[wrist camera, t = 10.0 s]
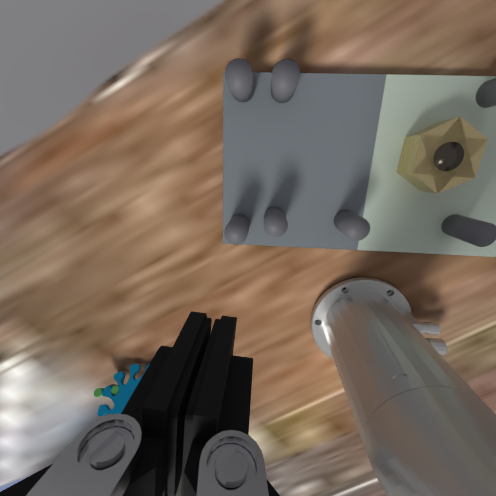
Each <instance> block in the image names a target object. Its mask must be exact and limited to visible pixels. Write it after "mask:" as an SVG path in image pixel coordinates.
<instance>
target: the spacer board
mask: <svg viewBox="0 0 496 496" xmlns="http://www.w3.org/2000/svg"><path fill="white" fill-rule="evenodd" d="M458 116H461V117H462V118H463V119H464V120H466V121H467V122H468V123H469V124H470V125H472V126H473V127H474V128H475V129H476V130H478V131H479V132H480V133H481V134H482V135H484V136H485V137H486V138H487V139H488V140H487V143H486V146H485V150H484V153H483V156H482V159H481V162H480V165H479V168H478V171H477V174H476V177H475V178H474V179H472V180H470V181H467V182H465V183H462V184H460V185H458V186H455V187H453V188H451V189H448V190H446V191H444V192H441V193H439V194H435V193H429V192H423V191H420V190H419V189H417V188H416V187H415V186H413V185H412V184H411V183H410V182H408V181H407V180H406V179H404V178H403V177H402V176H400V175H399V174H398V173H397V168H398V164H399V160H400V155H401V151H402V147H403V143H404V138H405V137H407V136H409V135H411V134H413V133H416V132H418V131H420V130H422V129H424V128H426V127H428V126H430V125H433V124H435V123H437V122H439V121H442V120H446V119H450V118H454V117H458ZM223 243H225V244H234V245H238V244H246V245H266V246H286V247H306V248H326V249H347V250H367V251H387V252H407V253H427V254H447V255H468V256H488V257H496V76H447V75H387V74H327V73H300V70H299V67H298V65H297V64H296V63H295V62H294V61H293V60H290V59H283V60H281V61H279V62H278V63H277V64H276V65H275V66H274V68H273V70H272V73H268V72H253V71H252V68H251V66H250V64H249V63H248V62H247V61H246V60H244V59H241V58H237V59H234V60H232V61H230V62H229V64H228V65H227V67H226V70H225V72H224V89H223Z"/></svg>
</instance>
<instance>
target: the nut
mask: <svg viewBox="0 0 496 496" xmlns="http://www.w3.org/2000/svg"><path fill="white" fill-rule="evenodd" d="M487 140H488V139H487V138H486V137H485V136H484V135H482V134H481V133H480V132H479V131H478V130H476V129H475V128H474V127H473V126H472V125H470V124H469V123H468V122H467V121H466V120H464V119H463V118H462V117H461V116H458V117H454V118H450V119H446V120H442V121H439V122H437V123H435V124H433V125H430V126H428V127H426V128H424V129H422V130H420V131H418V132H416V133H413V134H411V135H409V136H407V137H405V138H404V143H403V147H402V151H401V155H400V160H399V164H398V168H397V173H398V174H399V175H400V176H402V177H403V178H404V179H406V180H407V181H408V182H410V183H411V184H412V185H413V186H415V187H416V188H417V189H419V190H420V191H423V192H429V193H435V194H439V193H441V192H444V191H446V190H448V189H451V188H453V187H455V186H458V185H460V184H462V183H465V182H467V181H470V180H472V179H474V178H475V177H476V174H477V171H478V168H479V165H480V162H481V159H482V156H483V153H484V150H485V146H486V143H487Z"/></svg>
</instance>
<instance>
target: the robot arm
mask: <svg viewBox="0 0 496 496" xmlns="http://www.w3.org/2000/svg"><path fill="white" fill-rule="evenodd" d="M344 287H345V288H344ZM342 288H344V289H342ZM236 321H237V318H236V317H229V316H222V317H221V319H215V322H214V325H213V328H212V331H211V318H207V314H206V313H199V312H191V313H190V314H189V316H188V318H187V320H186V322H185V324H184V326H183V328H182V330H181V332H180V334H179V336H178V338H177V340H176V342H175V344H174V346H173V347H167V346H161V347H160V348H159V349H158V351H157V352H156V354H155V356H154V358H153V359H152V361H151V363H150V364H149V366H148V368H147V370H146V371H145V373H144V375H143V376H142V378H141V380H140V382H139V383H138V385H137V387H136V388H135V390H134V392H133V394H132V395H131V397H130V399H129V401H128V402H127V404H126V406H125V407H124V409H123V411H122V413H121V414H112V415H107V416H105V417H102V418H99V419H97V420H96V421H94V422H93V423H91V424H89V425H88V426H87V427H86V428H85V429H84V430H83V431H82V432H80V433H79V435H78V436H77V437H76V438H75V439H74V440H73V441H72V443H71V444H70V445H69V446H68V447H67V448H66V450H65V451H64V452H63V453H62V454H61V455H60V457H59V458H58V459H57V460H56V461H55V462H54V463H53V464H52V465H50V466H48V467H46V468H44V469H42V470H40V471H39V472H37V473H35V474H33V475H31V476H29V477H27V478H25V479H24V480H22V481H20V482H18V483H16V484H14V485H13V486H11V487H9V488H7V489H5V490H3V491H1V492H0V496H168V495H170V496H175V495H176V493H177V489H178V486H179V482H180V478H181V475H182V485H181V496H279V494H278V493H277V492H276V490H275V489H274V488H273V487H272V485H271V484H270V483H269V481H268V480H267V478H266V470H265V463H264V458H263V455H262V451H261V449H260V448H259V446H258V444H257V443H256V441H254V440H253V439H252V438H251V437H250V436H249V435H248V432H249V416H250V400H251V384H252V369H253V358H247V357H240V356H233V347H234V339H235V330H236ZM311 330H312V334H313V337H314V340H315V342H316V344H317V345H318V347H319V348H320V349H321V350H322V351H323V352H324V353H325V354H326V355H327V356H329V357H330V358H332V359H334V362H335V365H336V367H337V370H338V373H339V376H340V379H341V382H342V384H343V387H344V390H345V393H346V396H347V399H348V401H349V404H350V407H351V410H352V413H353V416H354V419H355V421H356V424H357V427H358V430H359V433H360V436H361V438H362V441H363V444H364V447H365V450H366V452H367V455H368V458H369V461H370V463H371V466H372V468H373V471H374V473H375V475H376V477H377V479H378V481H379V482H380V484H381V486H382V487H383V489H384V490H385V491H386V493H387V494H388V496H496V414H495V413H494V412H493V411H492V410H491V409H490V408H489V407H488V406H487V405H486V404H485V402H483V401H482V400H481V398H480V397H479V396H478V395H477V394H476V393H475V392H474V391H473V390H472V389H471V388H470V386H469V385H468V384H467V383H466V382H465V381H464V380H463V379H462V378H461V377H460V376H459V375H458V373H457V372H456V371H455V370H454V369H453V368H452V367H451V366H450V365H449V364H448V363H447V362H446V360H445V359H444V358H443V357H442V356H441V355H445V354H446V352H447V346H446V343H445V342H444V340H442V339H436V338H424V337H423V335H422V334H421V333H426V334H434V335H438V334H439V333H440V326H439V325H438V324H437V323H432V322H424V323H423V322H418V321H417V320H416V319H415V318H414V317H413V316H412V312H411V308H410V305H409V303H408V301H407V300H406V298H405V297H404V295H403V294H402V293H401V292H400V291H399V290H398V289H396V288H395V287H394V286H392V285H391V284H389V283H387V282H385V281H382V280H379V279H375V278H367V277H360V278H352V279H348V280H345V281H342V282H340V283H338V284H336V285H334V286H332V287H331V288H330V289H328V290H327V291H326V292H325V293H324V294H323V295H322V296H321V297H320V298H319V299H318V301H317V302H316V304H315V306H314V308H313V311H312V315H311ZM210 333H211V335H210Z"/></svg>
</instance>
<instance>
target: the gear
mask: <svg viewBox="0 0 496 496" xmlns="http://www.w3.org/2000/svg"><path fill="white" fill-rule="evenodd" d="M148 366H149V364H148V365H147V366H146V370H147V368H148ZM140 369H141V365H137V364H131V366H130V373H131V374H130V378H129V381H128V383H127V384H126V385H124V384H123V380H124V378H125V372H123V371H121V372H118V373H116V374H115V375H114V379H115V380H116V381H117V383H118V385H115V384H112V385H109V386H107V387H106V388H98V389H96V390H95V391H94V395H95V396H96V397H99V396H107V397H109V398H111V399H112V401H113V402H114V408H113V409H112V410H111V409H110V408H109V406H108V405H106V404H105V405H100V407H99V410H98V416H103V415H106V414H121V413H122V411H123V409H124V407H125V406H126V404H127V402H128V401H129V399H130V397H131V395H132V394H133V392H134V390H135V388H136V387H137V385H138V383H139V382H140V380H141V378H142V376H143V375H144V374H143V375H142V376H141V377H140V378H139V379H137V380H136V379H135V375H136V373H137V372H139V371H140ZM146 370H145V371H146ZM144 373H145V372H144Z"/></svg>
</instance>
